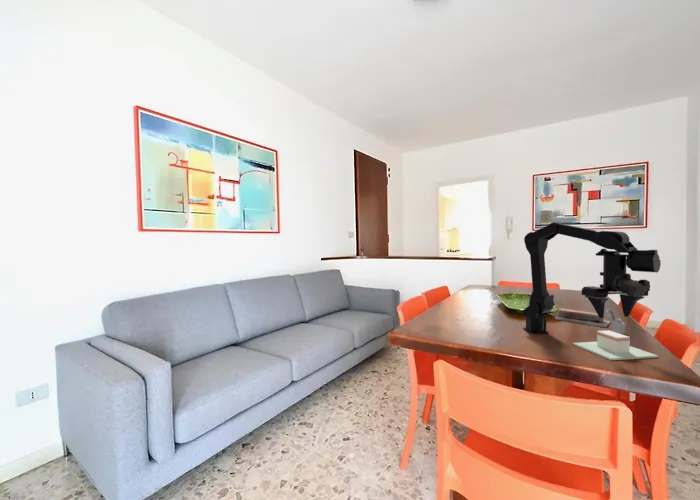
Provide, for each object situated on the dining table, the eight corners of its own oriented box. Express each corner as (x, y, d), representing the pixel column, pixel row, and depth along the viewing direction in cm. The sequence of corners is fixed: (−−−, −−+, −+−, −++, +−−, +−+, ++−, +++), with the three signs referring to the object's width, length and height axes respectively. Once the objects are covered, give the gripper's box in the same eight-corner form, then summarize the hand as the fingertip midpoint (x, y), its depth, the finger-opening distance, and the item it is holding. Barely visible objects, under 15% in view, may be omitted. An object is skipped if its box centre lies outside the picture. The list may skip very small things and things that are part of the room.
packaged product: (555, 309, 140) (561, 306, 146) (555, 320, 140) (561, 316, 147) (606, 317, 126) (610, 312, 133) (606, 328, 127) (610, 324, 133)
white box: (596, 345, 105) (596, 330, 105) (608, 344, 105) (609, 330, 105) (616, 353, 98) (617, 337, 97) (629, 352, 98) (630, 336, 98)
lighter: (625, 334, 118) (625, 313, 118) (620, 334, 118) (621, 313, 118) (609, 328, 125) (609, 309, 125) (605, 328, 125) (605, 309, 125)
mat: (611, 360, 94) (611, 358, 94) (573, 344, 108) (573, 342, 108) (657, 357, 95) (657, 355, 95) (614, 342, 109) (614, 340, 109)
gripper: (612, 273, 91) (611, 325, 92) (667, 271, 93) (666, 322, 94) (580, 269, 102) (579, 316, 103) (630, 268, 104) (629, 313, 105)
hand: (613, 317), depth 101 cm, fingers open, 9 cm apart
